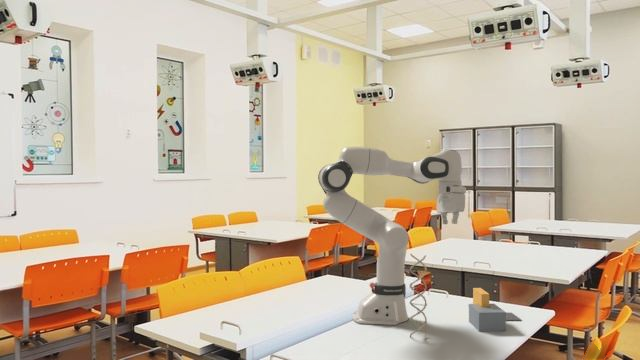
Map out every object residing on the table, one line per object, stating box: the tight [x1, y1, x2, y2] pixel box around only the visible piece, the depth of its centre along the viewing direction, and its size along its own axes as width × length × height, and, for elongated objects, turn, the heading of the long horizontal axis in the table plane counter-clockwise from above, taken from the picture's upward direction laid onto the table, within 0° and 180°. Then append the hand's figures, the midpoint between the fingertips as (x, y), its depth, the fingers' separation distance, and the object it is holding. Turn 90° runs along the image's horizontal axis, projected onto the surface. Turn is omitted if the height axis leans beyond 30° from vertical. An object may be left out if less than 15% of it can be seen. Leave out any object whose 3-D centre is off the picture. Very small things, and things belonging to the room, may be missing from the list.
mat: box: [506, 312, 522, 322], centre depth 209 cm, size 10×10×1 cm
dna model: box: [408, 253, 428, 340], centre depth 185 cm, size 7×6×30 cm
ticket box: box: [468, 303, 507, 332], centre depth 198 cm, size 10×12×7 cm
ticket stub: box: [472, 287, 490, 307], centre depth 204 cm, size 3×10×12 cm, turn 2°
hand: (449, 224), depth 208 cm, fingers open, 8 cm apart
